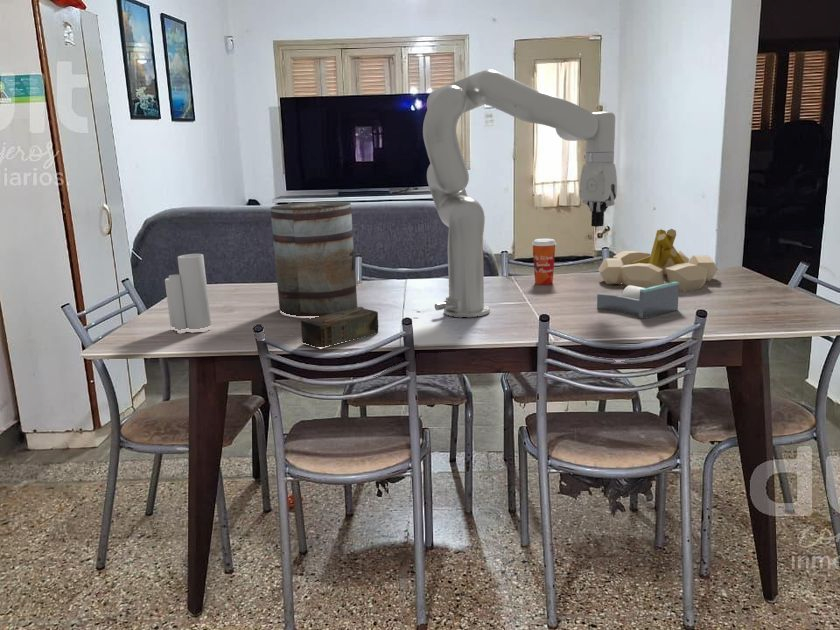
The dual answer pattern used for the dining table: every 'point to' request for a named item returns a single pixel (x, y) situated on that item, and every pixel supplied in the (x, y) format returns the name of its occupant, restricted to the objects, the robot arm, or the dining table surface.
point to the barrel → (314, 257)
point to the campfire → (658, 266)
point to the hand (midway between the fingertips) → (597, 225)
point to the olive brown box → (339, 327)
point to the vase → (188, 294)
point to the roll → (632, 292)
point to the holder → (644, 301)
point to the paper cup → (543, 260)
